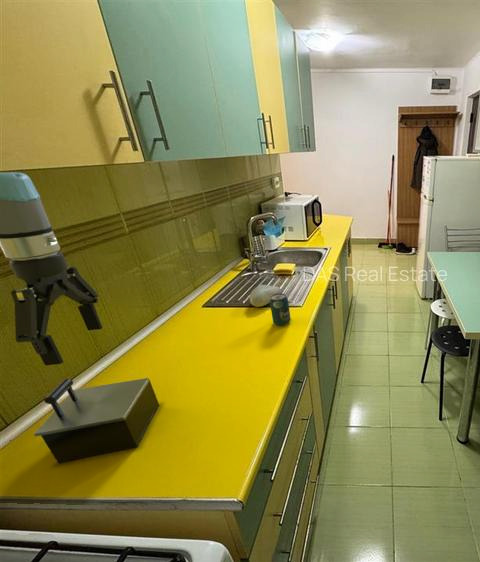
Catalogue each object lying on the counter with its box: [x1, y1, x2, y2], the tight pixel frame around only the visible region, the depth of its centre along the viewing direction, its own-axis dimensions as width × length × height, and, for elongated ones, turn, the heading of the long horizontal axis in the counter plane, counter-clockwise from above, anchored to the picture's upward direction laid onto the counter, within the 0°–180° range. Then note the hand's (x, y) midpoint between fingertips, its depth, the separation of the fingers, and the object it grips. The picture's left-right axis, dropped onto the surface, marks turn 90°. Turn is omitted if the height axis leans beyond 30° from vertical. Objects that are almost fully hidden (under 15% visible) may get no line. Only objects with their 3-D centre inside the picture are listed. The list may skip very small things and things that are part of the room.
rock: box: [249, 284, 282, 308], centre depth 141 cm, size 8×11×20 cm
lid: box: [33, 377, 150, 437], centre depth 71 cm, size 17×14×7 cm
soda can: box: [269, 292, 292, 327], centre depth 122 cm, size 7×7×12 cm
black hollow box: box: [41, 379, 160, 464], centre depth 74 cm, size 16×14×9 cm
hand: (76, 344), depth 68 cm, fingers open, 13 cm apart
